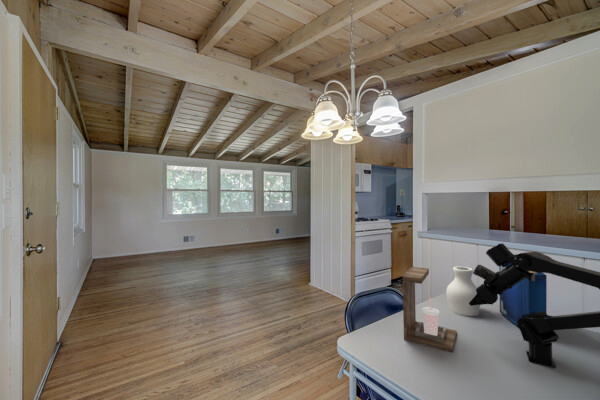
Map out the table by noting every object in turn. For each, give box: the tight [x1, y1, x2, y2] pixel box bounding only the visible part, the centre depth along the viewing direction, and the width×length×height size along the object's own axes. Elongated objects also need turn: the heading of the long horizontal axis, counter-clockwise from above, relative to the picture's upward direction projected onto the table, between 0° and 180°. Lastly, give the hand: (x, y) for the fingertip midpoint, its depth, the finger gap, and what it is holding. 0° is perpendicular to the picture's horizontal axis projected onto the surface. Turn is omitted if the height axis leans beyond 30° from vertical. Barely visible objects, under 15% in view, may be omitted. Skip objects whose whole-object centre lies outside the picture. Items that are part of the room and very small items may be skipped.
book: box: [498, 265, 548, 327], centre depth 111 cm, size 22×7×25 cm, turn 168°
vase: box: [445, 265, 481, 317], centre depth 126 cm, size 14×14×20 cm
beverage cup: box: [421, 296, 440, 336], centre depth 103 cm, size 6×6×14 cm
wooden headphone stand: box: [402, 266, 457, 353], centre depth 103 cm, size 16×16×24 cm
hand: (472, 300), depth 103 cm, fingers open, 9 cm apart
